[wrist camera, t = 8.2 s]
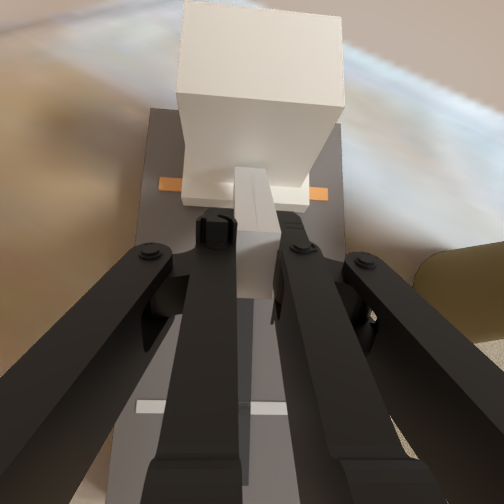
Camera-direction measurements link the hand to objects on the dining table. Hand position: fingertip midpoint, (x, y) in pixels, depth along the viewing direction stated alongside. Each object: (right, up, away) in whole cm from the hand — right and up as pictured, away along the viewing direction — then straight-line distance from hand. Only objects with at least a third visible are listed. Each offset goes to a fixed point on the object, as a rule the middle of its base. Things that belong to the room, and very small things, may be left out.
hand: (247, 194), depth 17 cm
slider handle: (0, +3, +3) cm, 4 cm away
